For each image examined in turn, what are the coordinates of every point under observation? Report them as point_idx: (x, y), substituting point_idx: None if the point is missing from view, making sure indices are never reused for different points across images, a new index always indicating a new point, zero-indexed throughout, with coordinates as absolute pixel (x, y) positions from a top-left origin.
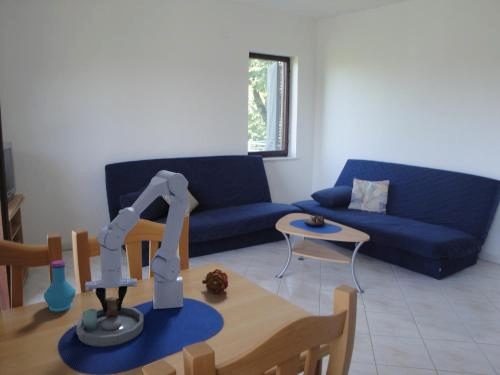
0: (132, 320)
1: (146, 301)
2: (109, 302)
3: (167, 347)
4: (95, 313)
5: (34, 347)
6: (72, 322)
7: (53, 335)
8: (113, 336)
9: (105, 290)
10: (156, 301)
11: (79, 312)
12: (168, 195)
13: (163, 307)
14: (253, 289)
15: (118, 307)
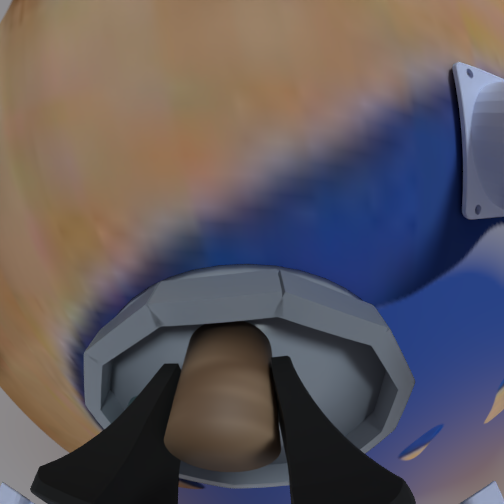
0: (351, 375)
1: (419, 80)
2: (213, 467)
3: (417, 439)
4: None
5: (60, 422)
6: (47, 321)
7: (55, 389)
8: (279, 485)
9: (131, 501)
10: (496, 185)
11: (23, 222)
12: None
13: (499, 216)
14: None
15: (279, 422)
